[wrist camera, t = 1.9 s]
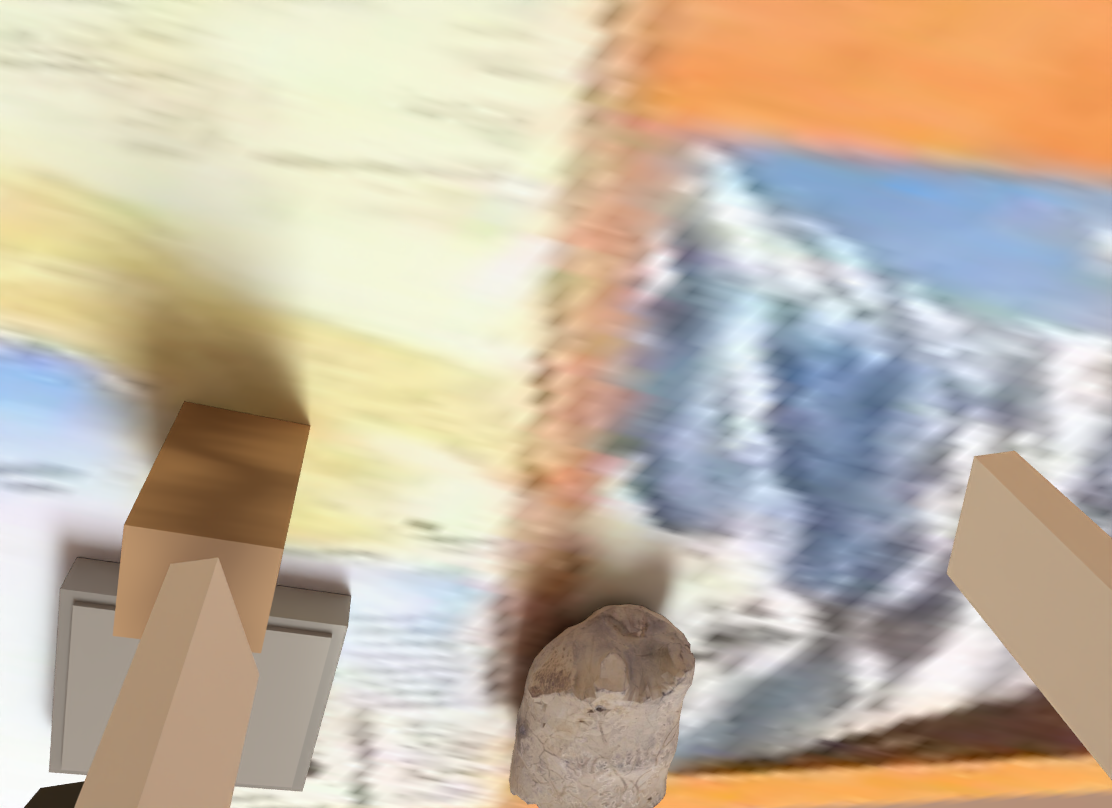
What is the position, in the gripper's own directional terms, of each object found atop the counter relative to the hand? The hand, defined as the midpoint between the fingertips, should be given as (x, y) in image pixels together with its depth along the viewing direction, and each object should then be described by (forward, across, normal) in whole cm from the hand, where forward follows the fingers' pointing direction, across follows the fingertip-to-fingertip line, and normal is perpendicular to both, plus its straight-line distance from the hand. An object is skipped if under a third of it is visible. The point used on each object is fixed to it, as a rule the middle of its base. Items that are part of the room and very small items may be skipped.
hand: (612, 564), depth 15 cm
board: (+20, -17, -21) cm, 34 cm away
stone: (+20, +2, -25) cm, 32 cm away
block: (+20, -12, -9) cm, 25 cm away
